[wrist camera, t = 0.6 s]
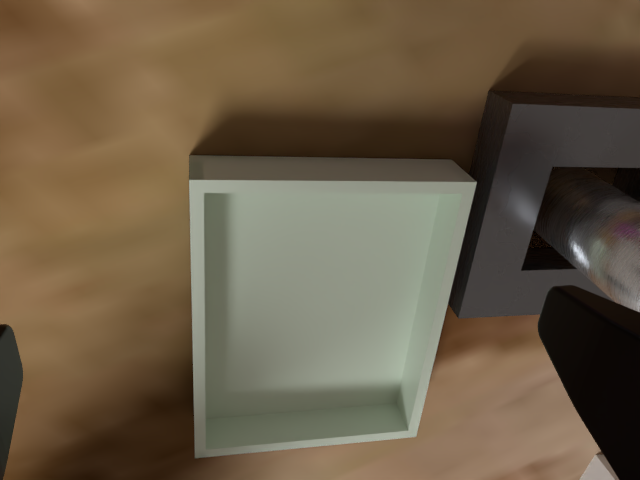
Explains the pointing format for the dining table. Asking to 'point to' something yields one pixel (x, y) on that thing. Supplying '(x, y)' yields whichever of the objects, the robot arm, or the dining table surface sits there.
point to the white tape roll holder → (599, 470)
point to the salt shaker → (594, 231)
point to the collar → (534, 193)
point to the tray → (318, 296)
